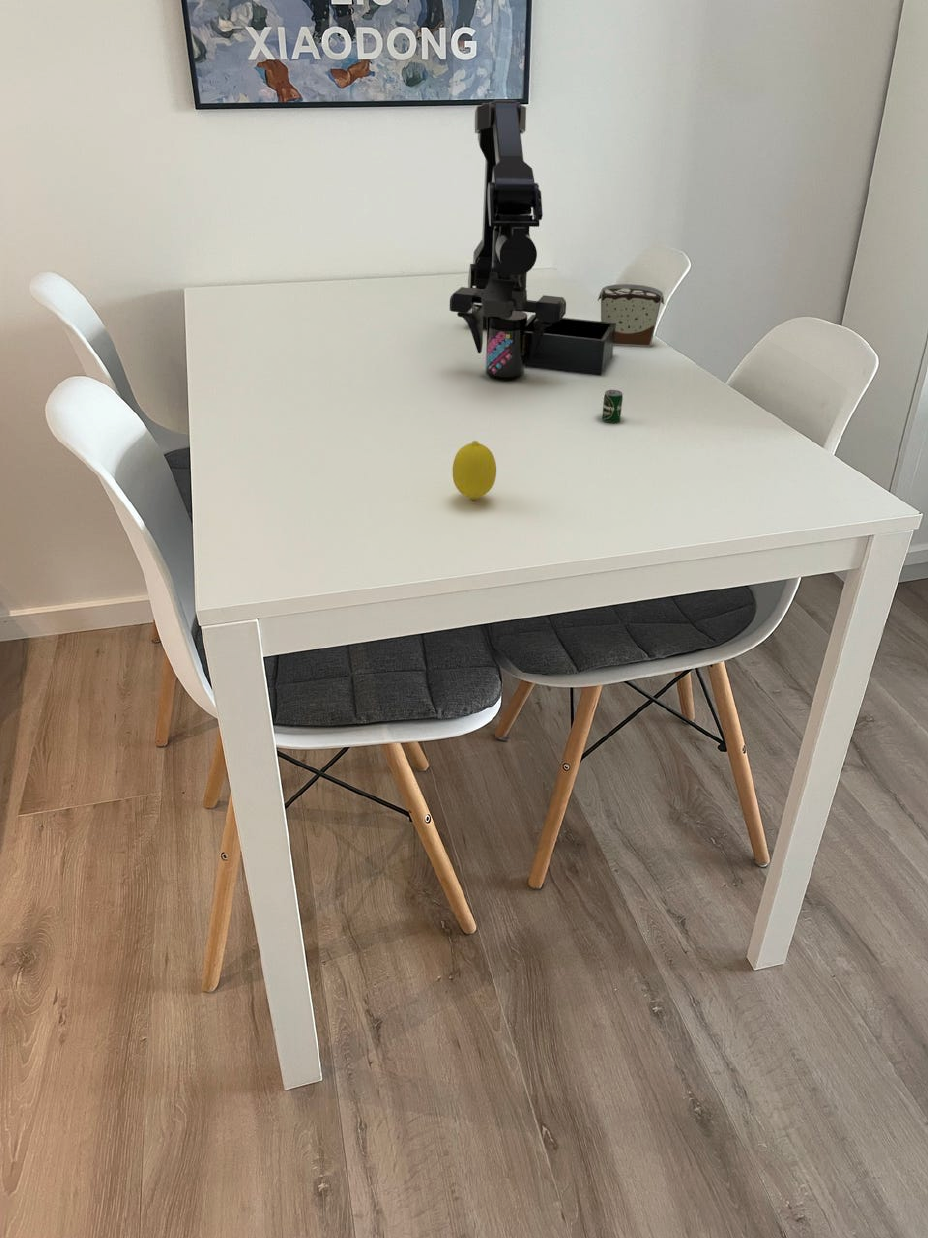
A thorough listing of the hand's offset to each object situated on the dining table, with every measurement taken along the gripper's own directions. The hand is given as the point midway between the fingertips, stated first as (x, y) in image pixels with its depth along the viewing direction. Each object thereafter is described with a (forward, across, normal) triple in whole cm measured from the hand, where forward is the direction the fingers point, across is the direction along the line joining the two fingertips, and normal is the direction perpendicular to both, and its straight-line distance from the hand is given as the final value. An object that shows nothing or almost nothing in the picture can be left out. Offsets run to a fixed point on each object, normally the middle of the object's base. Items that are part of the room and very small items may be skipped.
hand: (505, 355), depth 156 cm
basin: (+4, +8, +12) cm, 15 cm away
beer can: (+4, +21, -14) cm, 26 cm away
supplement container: (+4, 0, 0) cm, 4 cm away
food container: (+4, +16, +28) cm, 33 cm away
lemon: (+4, +9, -48) cm, 49 cm away
